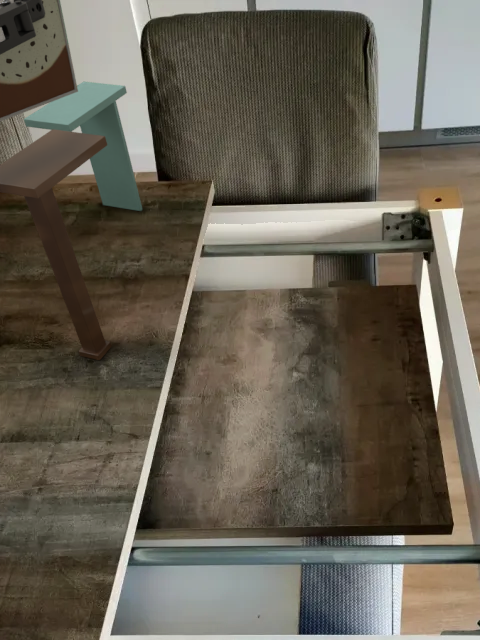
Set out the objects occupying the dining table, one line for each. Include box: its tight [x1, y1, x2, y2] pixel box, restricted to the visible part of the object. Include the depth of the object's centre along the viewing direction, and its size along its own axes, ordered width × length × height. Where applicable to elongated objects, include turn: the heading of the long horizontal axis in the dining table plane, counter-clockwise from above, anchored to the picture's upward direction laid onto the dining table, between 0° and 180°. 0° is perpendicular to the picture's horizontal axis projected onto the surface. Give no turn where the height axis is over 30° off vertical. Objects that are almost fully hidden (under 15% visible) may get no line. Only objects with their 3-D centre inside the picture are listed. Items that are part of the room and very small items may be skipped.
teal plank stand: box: [23, 81, 143, 212], centre depth 96 cm, size 7×14×18 cm, turn 160°
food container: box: [0, 0, 78, 122], centre depth 60 cm, size 12×6×10 cm, turn 145°
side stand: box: [0, 129, 113, 361], centre depth 76 cm, size 7×12×22 cm, turn 160°
